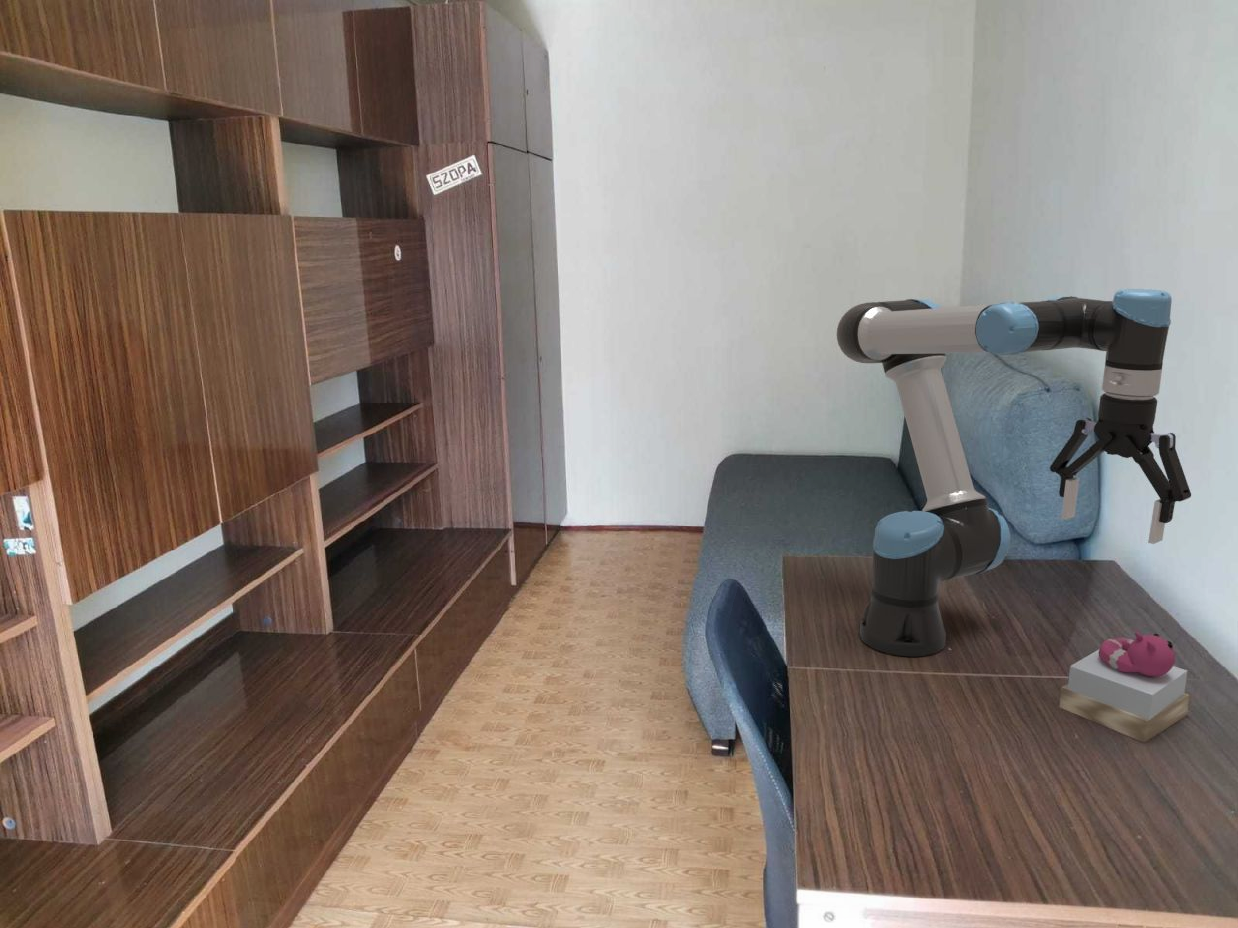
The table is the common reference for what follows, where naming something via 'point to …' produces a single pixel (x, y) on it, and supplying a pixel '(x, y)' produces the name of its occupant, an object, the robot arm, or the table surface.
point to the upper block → (1126, 686)
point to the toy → (1139, 654)
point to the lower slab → (1123, 715)
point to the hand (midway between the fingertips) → (1109, 529)
